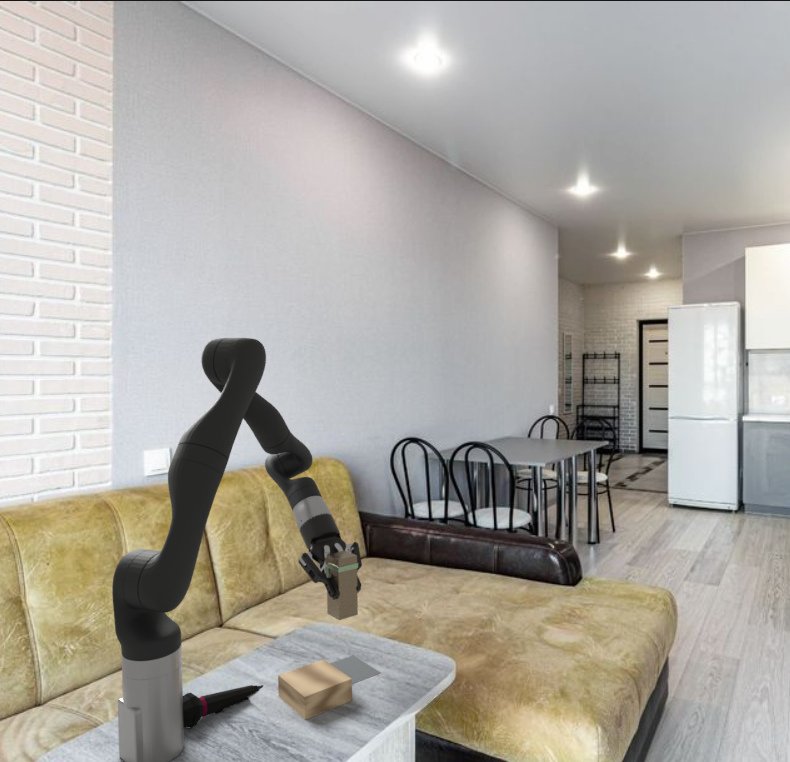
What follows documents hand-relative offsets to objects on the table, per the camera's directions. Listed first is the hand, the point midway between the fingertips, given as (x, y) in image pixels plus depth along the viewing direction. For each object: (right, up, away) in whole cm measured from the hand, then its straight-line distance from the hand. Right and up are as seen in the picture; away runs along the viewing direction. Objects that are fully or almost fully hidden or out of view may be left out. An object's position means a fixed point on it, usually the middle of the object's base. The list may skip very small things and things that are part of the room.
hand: (347, 594), depth 125 cm
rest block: (-5, -18, -7) cm, 20 cm away
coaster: (0, -18, +3) cm, 18 cm away
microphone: (-22, -19, -9) cm, 30 cm away
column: (-1, -5, +2) cm, 5 cm away
